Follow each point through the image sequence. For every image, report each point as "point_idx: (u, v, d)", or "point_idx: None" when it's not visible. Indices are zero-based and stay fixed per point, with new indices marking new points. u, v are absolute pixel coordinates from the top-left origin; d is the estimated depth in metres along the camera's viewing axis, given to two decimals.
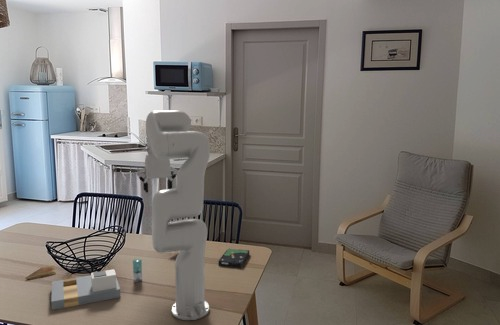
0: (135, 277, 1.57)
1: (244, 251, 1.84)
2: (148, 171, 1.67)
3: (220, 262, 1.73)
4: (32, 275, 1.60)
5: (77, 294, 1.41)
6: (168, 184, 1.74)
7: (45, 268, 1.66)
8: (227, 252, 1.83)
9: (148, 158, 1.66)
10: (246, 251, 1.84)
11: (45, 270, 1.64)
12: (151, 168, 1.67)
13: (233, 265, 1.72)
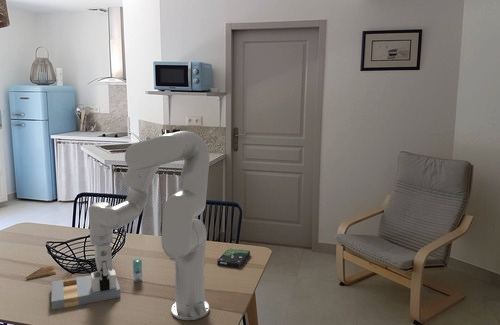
0: (135, 277, 1.57)
1: (244, 251, 1.84)
2: (111, 262, 1.43)
3: (219, 262, 1.74)
4: (32, 275, 1.60)
5: (77, 294, 1.41)
6: None
7: (45, 268, 1.66)
8: (228, 252, 1.83)
9: (110, 248, 1.42)
10: (246, 251, 1.84)
11: (45, 270, 1.64)
12: None
13: (231, 265, 1.72)
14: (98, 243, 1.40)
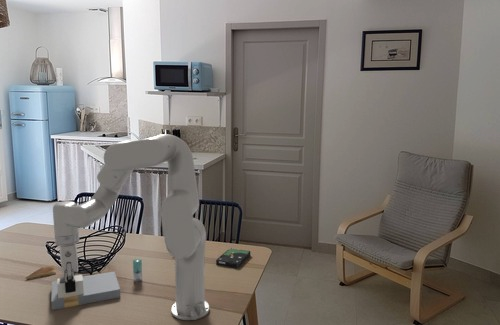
0: (135, 277, 1.57)
1: (245, 252, 1.83)
2: (77, 264, 1.38)
3: (217, 261, 1.74)
4: (32, 275, 1.60)
5: None
6: None
7: (45, 268, 1.66)
8: (228, 251, 1.83)
9: (75, 249, 1.37)
10: (247, 252, 1.83)
11: (45, 270, 1.64)
12: (77, 259, 1.39)
13: (230, 265, 1.72)
14: (62, 243, 1.35)
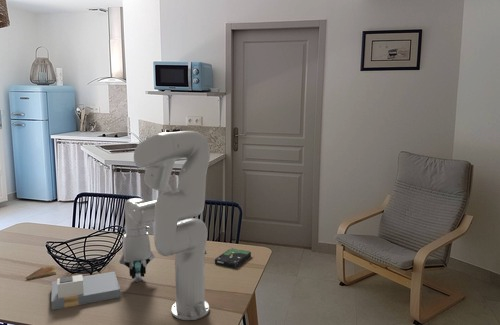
0: (135, 277, 1.57)
1: (245, 252, 1.83)
2: None
3: (216, 261, 1.75)
4: (32, 275, 1.60)
5: None
6: None
7: (45, 268, 1.66)
8: (228, 251, 1.83)
9: None
10: (247, 252, 1.83)
11: (45, 270, 1.64)
12: None
13: (228, 265, 1.72)
14: (146, 232, 1.56)
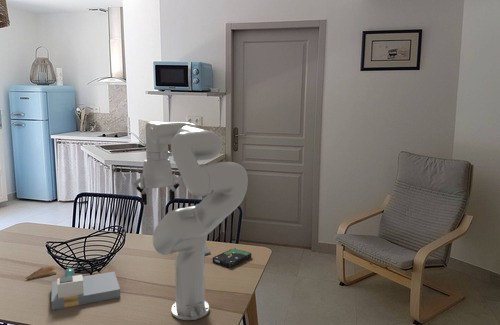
0: None
1: (245, 253, 1.82)
2: None
3: (213, 259, 1.76)
4: (32, 275, 1.60)
5: None
6: None
7: (45, 268, 1.66)
8: (229, 251, 1.84)
9: None
10: (247, 253, 1.82)
11: (45, 270, 1.64)
12: None
13: (223, 264, 1.73)
14: (167, 158, 1.47)
